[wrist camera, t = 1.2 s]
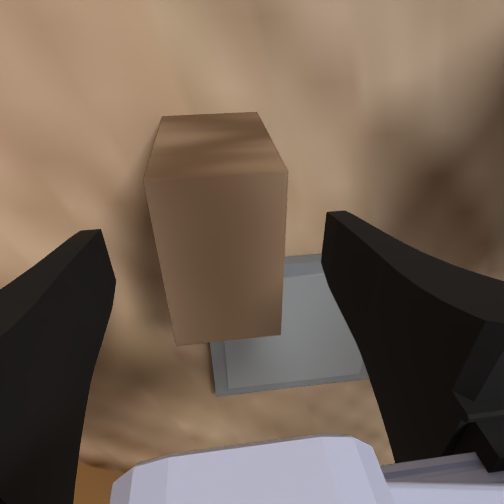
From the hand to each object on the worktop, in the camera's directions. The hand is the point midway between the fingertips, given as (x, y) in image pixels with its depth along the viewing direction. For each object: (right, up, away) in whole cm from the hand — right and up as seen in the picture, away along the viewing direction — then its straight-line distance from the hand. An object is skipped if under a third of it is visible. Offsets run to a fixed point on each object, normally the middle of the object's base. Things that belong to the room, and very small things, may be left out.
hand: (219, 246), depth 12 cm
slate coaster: (+4, -5, +9) cm, 11 cm away
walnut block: (0, +3, +4) cm, 5 cm away
